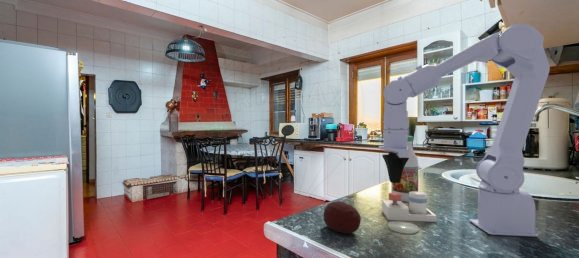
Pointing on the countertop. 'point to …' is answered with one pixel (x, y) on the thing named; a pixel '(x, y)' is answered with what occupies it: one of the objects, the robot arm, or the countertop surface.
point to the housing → (404, 212)
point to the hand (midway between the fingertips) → (394, 182)
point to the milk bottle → (407, 175)
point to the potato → (342, 217)
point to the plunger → (394, 197)
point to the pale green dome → (403, 227)
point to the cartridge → (417, 202)
